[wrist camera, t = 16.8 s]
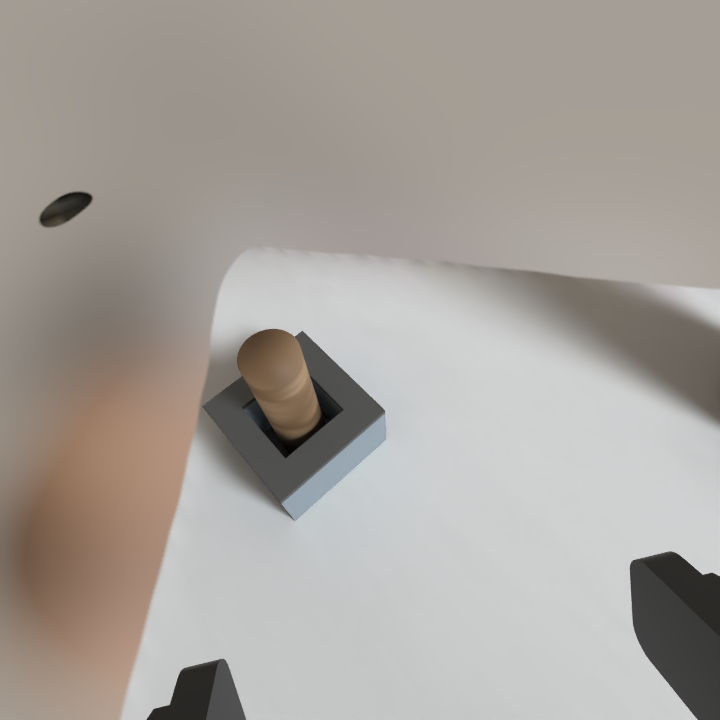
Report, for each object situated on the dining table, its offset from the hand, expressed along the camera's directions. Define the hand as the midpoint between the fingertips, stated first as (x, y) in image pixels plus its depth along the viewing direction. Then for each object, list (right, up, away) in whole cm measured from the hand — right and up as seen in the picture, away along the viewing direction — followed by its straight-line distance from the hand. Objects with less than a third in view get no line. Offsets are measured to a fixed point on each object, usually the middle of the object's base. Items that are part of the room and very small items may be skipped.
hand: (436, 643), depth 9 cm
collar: (-6, -1, +33) cm, 33 cm away
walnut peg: (-6, -1, +33) cm, 33 cm away
